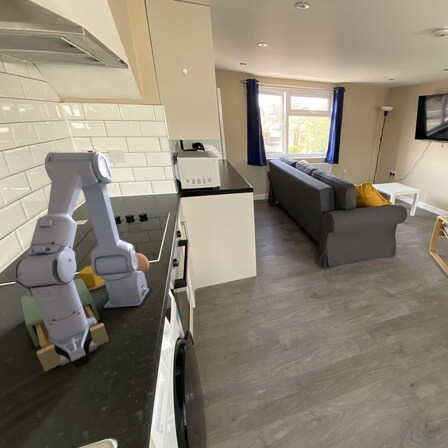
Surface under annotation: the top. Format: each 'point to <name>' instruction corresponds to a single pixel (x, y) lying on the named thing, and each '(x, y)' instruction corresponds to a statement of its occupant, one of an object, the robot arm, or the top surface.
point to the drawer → (47, 351)
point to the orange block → (89, 277)
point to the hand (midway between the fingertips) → (82, 363)
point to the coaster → (96, 286)
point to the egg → (142, 263)
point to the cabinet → (34, 315)
